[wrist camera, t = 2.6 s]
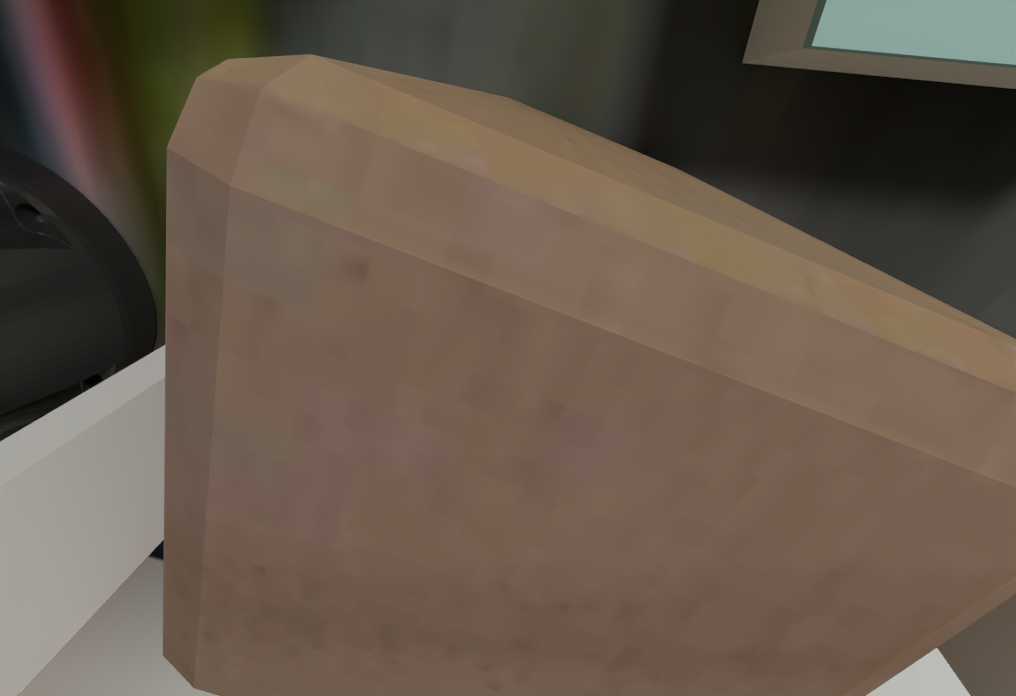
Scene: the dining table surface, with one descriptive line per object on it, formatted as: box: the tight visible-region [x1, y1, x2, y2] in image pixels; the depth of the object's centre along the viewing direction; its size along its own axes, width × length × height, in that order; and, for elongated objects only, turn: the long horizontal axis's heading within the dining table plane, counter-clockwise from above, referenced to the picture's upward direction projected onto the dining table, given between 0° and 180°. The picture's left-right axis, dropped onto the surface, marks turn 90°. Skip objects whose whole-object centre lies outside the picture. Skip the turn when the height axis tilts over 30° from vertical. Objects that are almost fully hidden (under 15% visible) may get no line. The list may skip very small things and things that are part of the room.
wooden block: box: [163, 54, 1016, 696], centre depth 15 cm, size 10×10×20 cm
